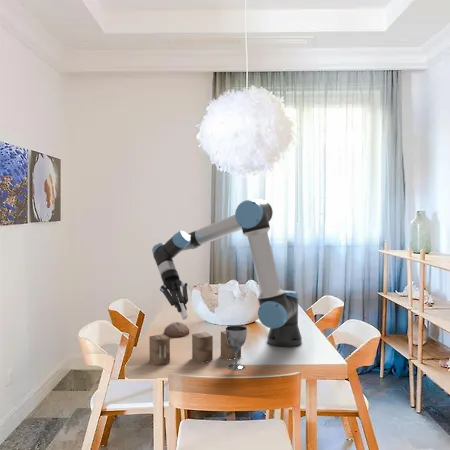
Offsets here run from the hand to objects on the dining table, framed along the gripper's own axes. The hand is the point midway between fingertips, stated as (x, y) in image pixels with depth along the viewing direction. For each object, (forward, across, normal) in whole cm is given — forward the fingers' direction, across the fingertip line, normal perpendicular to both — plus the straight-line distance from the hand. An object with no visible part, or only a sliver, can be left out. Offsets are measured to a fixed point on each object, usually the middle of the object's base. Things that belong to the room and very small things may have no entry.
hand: (185, 317), depth 201 cm
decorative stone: (-6, -6, -26) cm, 28 cm away
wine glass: (+30, -8, +10) cm, 32 cm away
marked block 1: (+16, +16, -3) cm, 23 cm away
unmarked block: (+20, 0, +1) cm, 20 cm away
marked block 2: (+22, -12, +2) cm, 25 cm away
